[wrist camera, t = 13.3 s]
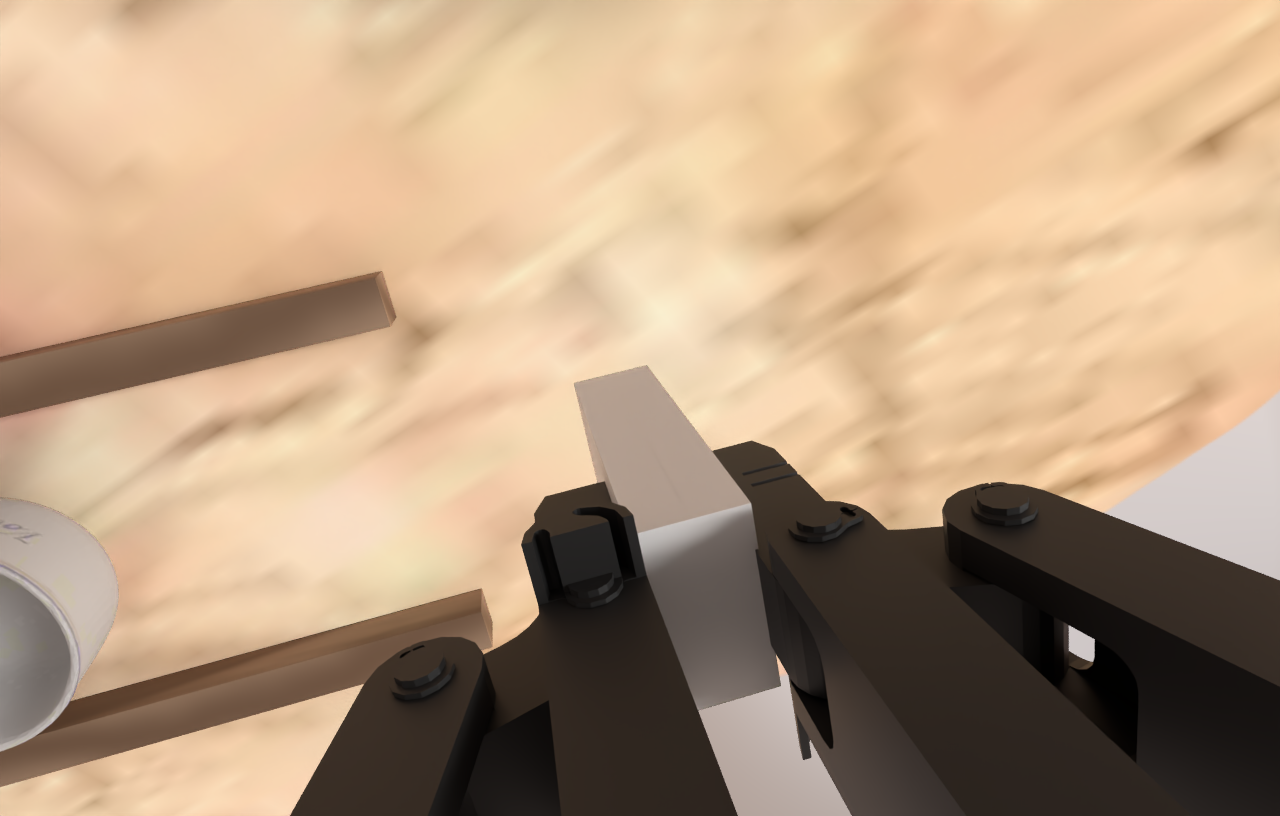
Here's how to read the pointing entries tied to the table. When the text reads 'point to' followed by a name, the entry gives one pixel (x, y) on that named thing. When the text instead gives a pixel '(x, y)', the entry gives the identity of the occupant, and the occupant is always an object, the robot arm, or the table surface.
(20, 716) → the teacup
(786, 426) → the table surface
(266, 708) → the guide track
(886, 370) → the table surface
